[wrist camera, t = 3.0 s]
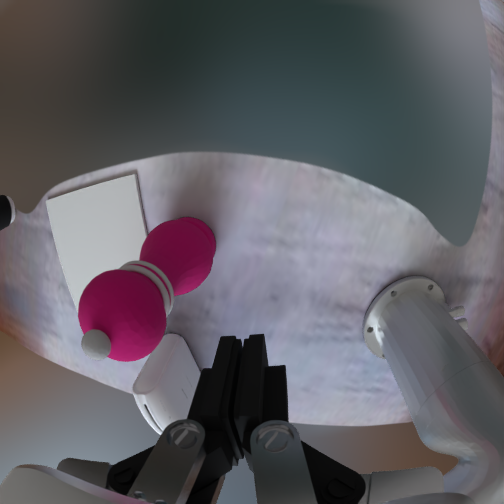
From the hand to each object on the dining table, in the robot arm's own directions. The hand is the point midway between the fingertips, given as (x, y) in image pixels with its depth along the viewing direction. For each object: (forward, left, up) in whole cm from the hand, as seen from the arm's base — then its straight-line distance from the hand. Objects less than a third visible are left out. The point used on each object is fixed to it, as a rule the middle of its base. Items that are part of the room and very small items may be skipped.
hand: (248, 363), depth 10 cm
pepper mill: (+9, 0, -21) cm, 22 cm away
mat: (+22, 0, -20) cm, 30 cm away
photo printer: (+14, +17, -21) cm, 30 cm away
